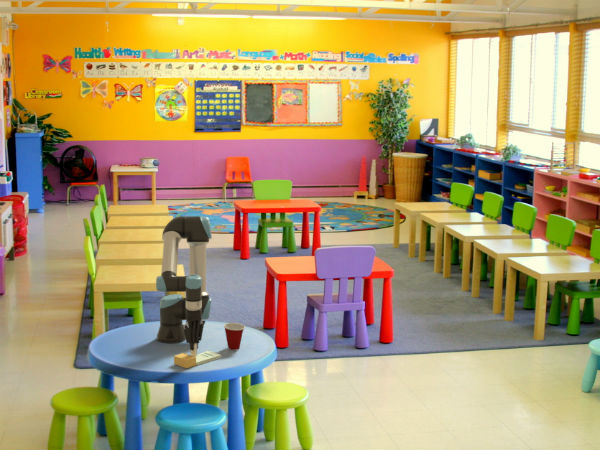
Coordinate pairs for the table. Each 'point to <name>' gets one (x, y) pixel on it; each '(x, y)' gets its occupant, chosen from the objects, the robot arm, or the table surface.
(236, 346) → the plastic cup
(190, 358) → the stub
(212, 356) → the pale green flat block
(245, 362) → the table surface
